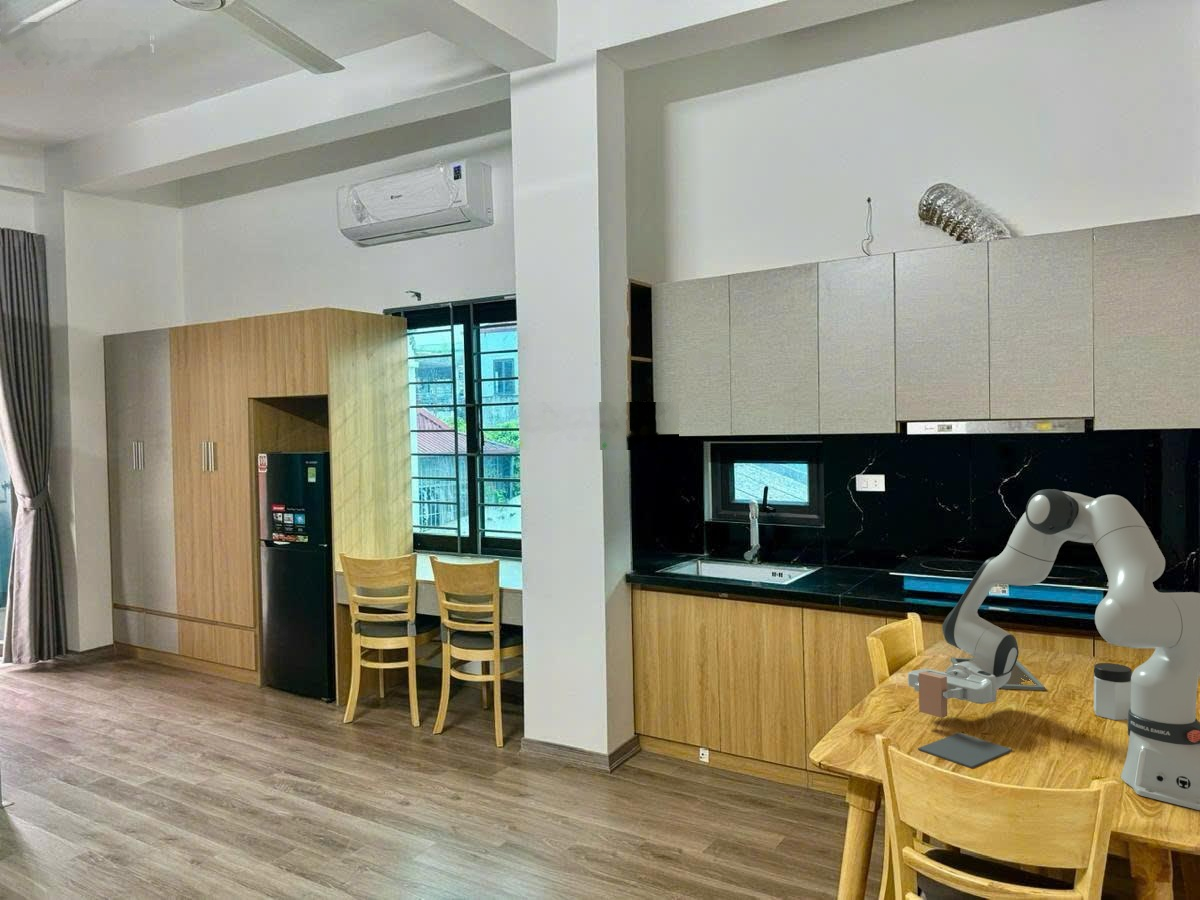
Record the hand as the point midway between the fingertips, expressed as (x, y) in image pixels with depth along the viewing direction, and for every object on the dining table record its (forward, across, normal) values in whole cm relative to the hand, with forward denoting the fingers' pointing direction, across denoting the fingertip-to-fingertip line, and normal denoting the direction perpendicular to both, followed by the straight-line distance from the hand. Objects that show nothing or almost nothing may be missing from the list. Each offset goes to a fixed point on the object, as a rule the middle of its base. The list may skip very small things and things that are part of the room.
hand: (930, 691), depth 207 cm
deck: (-1, 0, +6) cm, 6 cm away
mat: (+6, +12, +10) cm, 16 cm away
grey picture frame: (-54, -16, +9) cm, 57 cm away
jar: (-44, +21, +9) cm, 50 cm away
